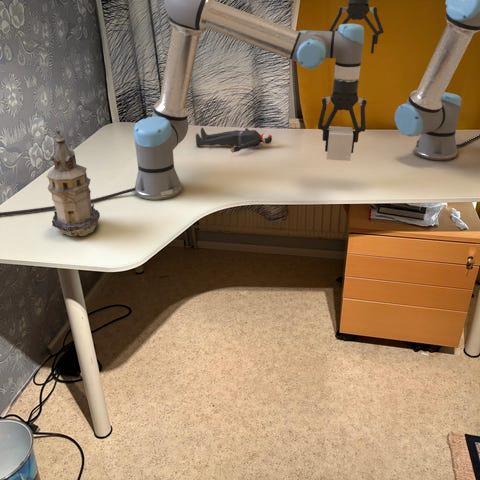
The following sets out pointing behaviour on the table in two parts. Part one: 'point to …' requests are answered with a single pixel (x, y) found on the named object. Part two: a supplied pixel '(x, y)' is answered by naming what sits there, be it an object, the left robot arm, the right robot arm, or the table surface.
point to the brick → (340, 143)
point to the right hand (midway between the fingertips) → (354, 52)
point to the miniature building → (70, 193)
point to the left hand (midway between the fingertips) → (338, 150)
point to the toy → (234, 139)
